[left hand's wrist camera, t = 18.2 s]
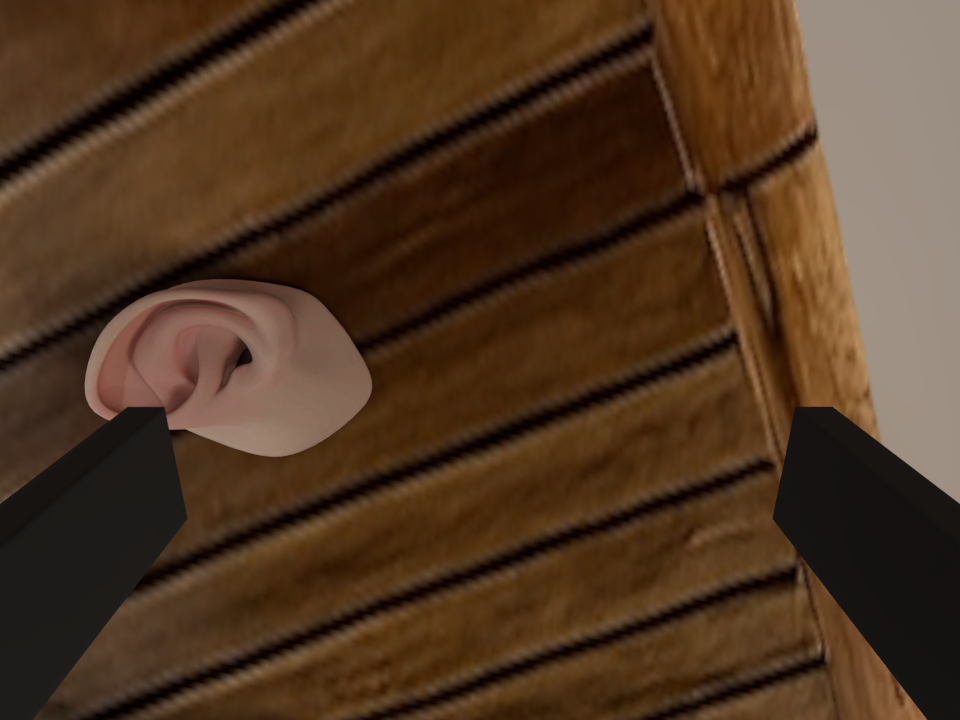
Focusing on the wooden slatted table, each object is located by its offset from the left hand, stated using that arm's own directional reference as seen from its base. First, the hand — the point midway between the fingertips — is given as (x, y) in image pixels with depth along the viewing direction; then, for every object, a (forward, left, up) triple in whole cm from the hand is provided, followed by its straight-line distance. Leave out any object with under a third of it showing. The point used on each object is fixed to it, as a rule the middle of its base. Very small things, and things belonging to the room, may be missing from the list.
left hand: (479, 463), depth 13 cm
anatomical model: (-14, +1, -21) cm, 25 cm away
